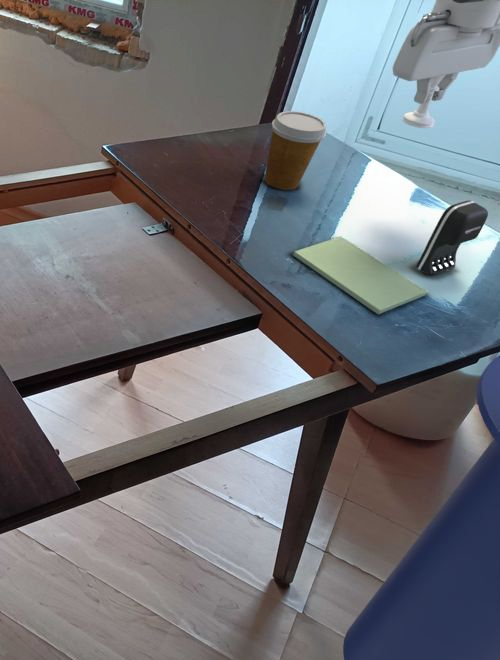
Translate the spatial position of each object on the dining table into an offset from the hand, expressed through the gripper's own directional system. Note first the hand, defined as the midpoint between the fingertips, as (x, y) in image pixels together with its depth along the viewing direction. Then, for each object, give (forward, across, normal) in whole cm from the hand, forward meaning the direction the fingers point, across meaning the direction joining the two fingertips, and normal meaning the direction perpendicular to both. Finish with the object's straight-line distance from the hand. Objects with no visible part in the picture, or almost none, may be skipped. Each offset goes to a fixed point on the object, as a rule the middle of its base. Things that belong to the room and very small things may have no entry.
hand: (427, 100), depth 111 cm
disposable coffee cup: (+20, -9, +16) cm, 27 cm away
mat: (+20, -20, -12) cm, 31 cm away
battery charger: (+21, -7, -17) cm, 28 cm away
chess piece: (+4, 0, 0) cm, 4 cm away
